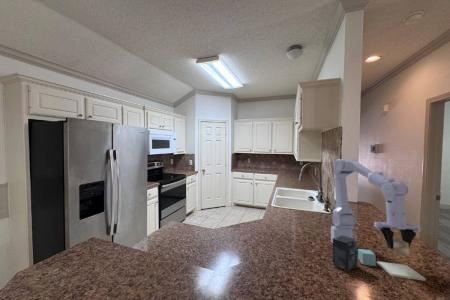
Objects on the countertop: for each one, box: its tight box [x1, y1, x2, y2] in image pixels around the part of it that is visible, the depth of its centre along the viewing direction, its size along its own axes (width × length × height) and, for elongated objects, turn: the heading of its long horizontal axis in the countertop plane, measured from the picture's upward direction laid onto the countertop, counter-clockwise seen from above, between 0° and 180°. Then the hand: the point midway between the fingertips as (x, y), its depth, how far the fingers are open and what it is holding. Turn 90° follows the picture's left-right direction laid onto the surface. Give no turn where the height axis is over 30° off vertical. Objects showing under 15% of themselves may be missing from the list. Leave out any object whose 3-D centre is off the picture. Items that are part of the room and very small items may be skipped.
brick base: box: [387, 237, 410, 257], centre depth 74 cm, size 4×4×4 cm
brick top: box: [357, 248, 377, 267], centre depth 80 cm, size 4×4×4 cm
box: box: [332, 235, 358, 272], centre depth 76 cm, size 8×6×11 cm
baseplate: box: [376, 261, 426, 282], centre depth 73 cm, size 10×10×1 cm
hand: (398, 248), depth 74 cm, fingers closed on brick base, 4 cm apart
